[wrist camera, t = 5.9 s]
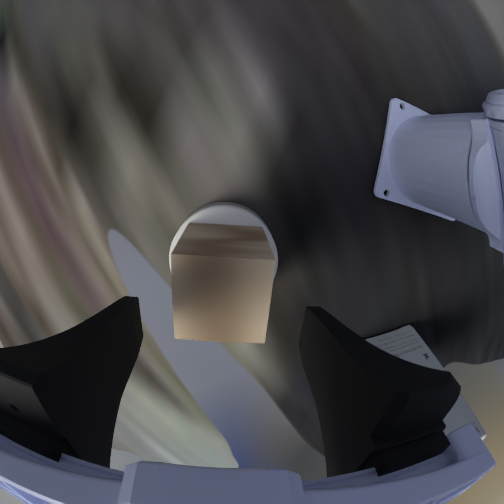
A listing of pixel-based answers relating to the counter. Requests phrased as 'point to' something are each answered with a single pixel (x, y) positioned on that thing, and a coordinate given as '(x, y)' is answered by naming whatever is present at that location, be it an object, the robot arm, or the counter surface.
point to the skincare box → (416, 351)
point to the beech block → (222, 283)
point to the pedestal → (226, 221)
